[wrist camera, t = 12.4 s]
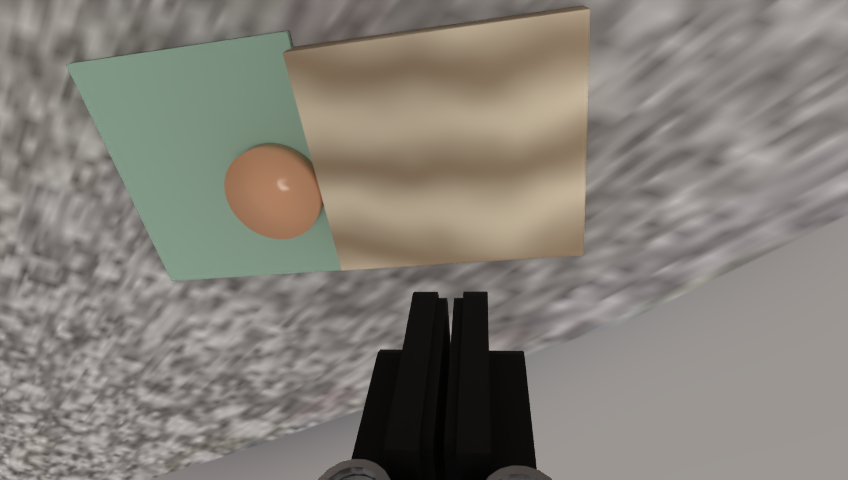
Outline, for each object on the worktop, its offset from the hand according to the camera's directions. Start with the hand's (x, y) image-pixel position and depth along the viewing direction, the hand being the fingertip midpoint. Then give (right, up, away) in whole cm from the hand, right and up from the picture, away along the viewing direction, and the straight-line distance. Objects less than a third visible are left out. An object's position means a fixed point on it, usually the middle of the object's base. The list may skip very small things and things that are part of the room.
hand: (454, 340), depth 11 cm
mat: (-16, +7, +25) cm, 30 cm away
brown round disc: (-11, +6, +25) cm, 28 cm away
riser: (+1, +8, +22) cm, 24 cm away
